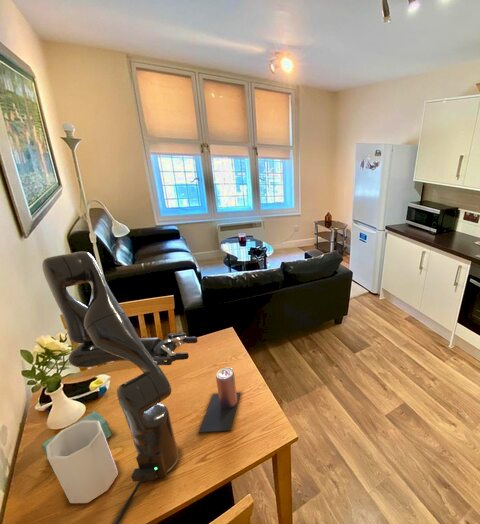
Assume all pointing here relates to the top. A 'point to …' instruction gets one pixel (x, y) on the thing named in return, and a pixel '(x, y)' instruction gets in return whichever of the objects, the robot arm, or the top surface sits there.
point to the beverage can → (226, 388)
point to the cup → (82, 461)
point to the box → (91, 417)
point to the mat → (218, 416)
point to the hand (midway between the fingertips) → (192, 347)
